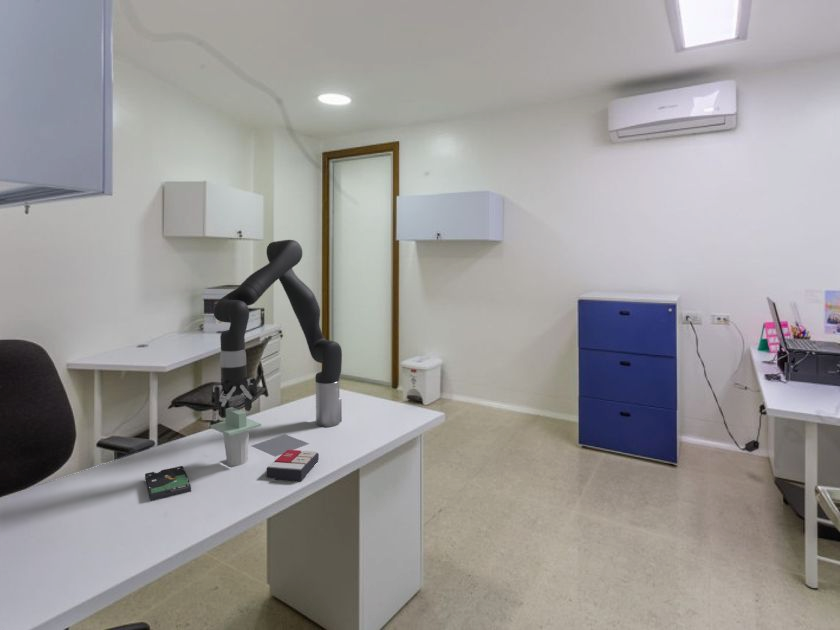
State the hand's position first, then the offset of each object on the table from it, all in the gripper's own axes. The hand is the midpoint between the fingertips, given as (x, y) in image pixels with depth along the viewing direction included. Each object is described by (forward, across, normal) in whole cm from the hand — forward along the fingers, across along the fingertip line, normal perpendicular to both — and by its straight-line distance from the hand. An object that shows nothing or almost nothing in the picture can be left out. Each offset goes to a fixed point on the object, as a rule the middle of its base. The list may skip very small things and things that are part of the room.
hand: (235, 413), depth 152 cm
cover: (+4, 0, 0) cm, 4 cm away
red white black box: (+17, -8, +18) cm, 26 cm away
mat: (+16, -17, -1) cm, 24 cm away
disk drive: (+17, +21, -2) cm, 27 cm away
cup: (+16, 0, 0) cm, 16 cm away
